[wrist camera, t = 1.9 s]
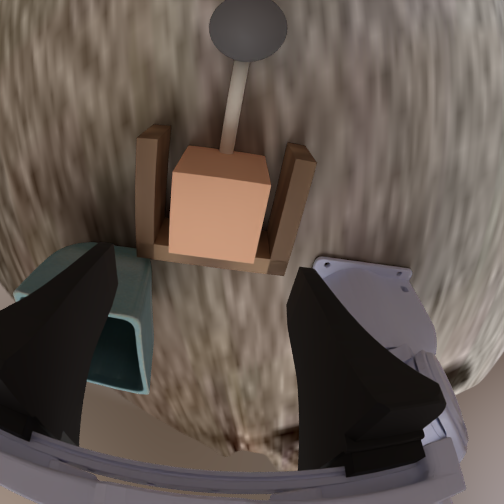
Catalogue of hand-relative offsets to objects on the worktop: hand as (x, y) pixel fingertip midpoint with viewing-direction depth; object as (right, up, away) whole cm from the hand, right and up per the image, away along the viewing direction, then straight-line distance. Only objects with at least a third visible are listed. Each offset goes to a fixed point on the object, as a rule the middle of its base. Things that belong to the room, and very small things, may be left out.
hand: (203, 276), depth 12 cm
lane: (0, +5, +9) cm, 10 cm away
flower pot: (-9, 0, +13) cm, 16 cm away
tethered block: (+1, +9, +6) cm, 11 cm away
